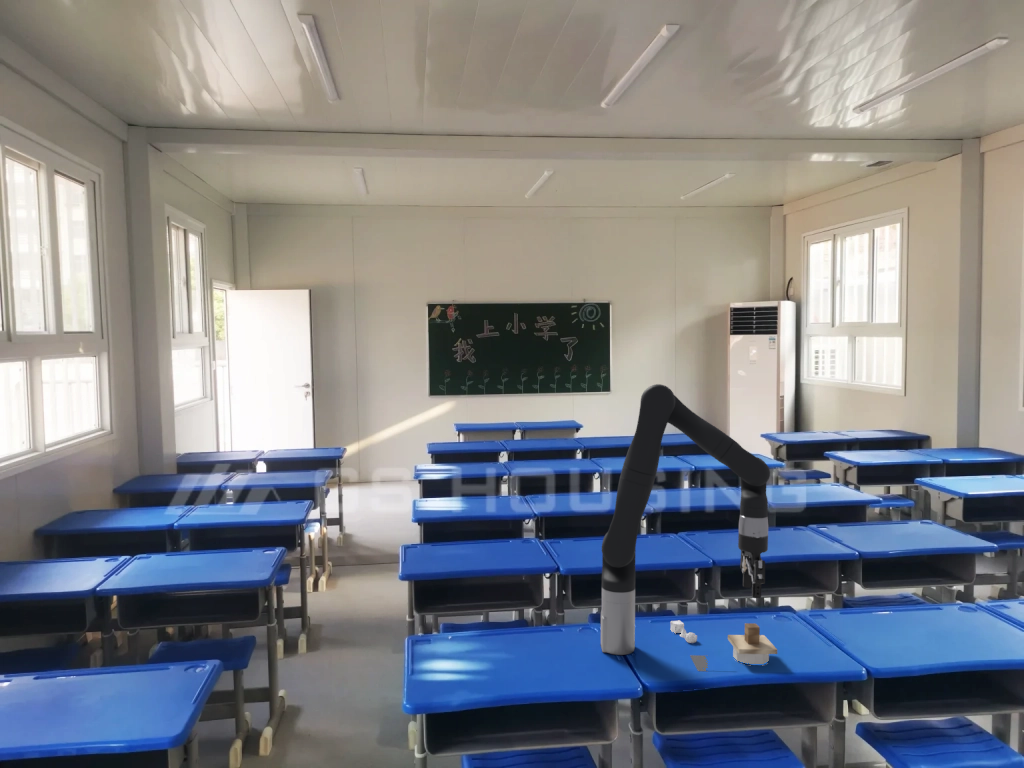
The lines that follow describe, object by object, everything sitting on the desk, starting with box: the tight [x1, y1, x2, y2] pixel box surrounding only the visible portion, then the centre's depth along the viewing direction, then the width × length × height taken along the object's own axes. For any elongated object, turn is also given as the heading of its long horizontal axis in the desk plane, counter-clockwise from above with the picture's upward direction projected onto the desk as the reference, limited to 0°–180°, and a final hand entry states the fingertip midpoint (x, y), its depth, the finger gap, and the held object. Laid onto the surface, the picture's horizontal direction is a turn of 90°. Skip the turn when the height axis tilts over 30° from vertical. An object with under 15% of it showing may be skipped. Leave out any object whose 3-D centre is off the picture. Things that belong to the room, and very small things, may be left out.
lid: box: [727, 622, 778, 655], centre depth 192 cm, size 10×10×6 cm
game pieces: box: [669, 619, 698, 644], centre depth 208 cm, size 12×3×3 cm, turn 12°
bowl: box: [732, 646, 770, 664], centre depth 192 cm, size 9×9×4 cm
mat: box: [689, 654, 708, 672], centre depth 189 cm, size 10×10×1 cm
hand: (751, 592), depth 192 cm, fingers open, 8 cm apart
